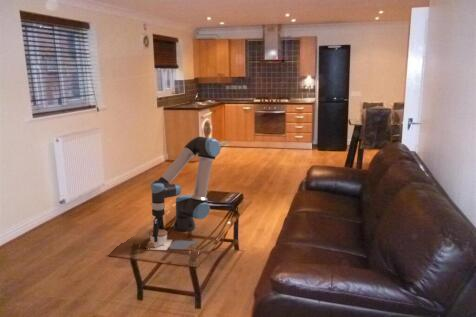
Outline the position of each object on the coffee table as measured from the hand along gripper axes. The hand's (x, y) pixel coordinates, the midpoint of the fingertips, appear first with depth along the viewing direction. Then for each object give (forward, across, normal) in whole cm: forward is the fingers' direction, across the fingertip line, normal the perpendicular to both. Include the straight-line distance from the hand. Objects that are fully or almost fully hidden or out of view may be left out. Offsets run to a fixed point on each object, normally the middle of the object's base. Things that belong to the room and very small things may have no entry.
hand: (158, 243), depth 256 cm
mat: (+1, 0, +16) cm, 16 cm away
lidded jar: (+1, 0, 0) cm, 1 cm away
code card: (+1, 0, 0) cm, 1 cm away
